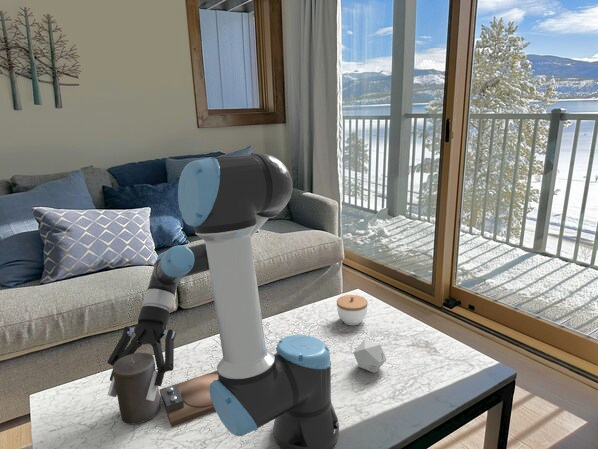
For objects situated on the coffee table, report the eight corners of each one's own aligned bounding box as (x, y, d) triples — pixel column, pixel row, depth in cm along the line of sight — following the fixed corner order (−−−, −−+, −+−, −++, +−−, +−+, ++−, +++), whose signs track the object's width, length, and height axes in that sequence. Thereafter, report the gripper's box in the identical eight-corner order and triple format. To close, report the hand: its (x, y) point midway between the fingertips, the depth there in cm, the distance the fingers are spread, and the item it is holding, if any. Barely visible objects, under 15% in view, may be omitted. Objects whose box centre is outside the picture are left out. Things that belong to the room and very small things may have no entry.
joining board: (256, 395, 109) (255, 389, 108) (171, 427, 99) (170, 420, 98) (237, 368, 121) (236, 363, 120) (160, 394, 110) (159, 388, 110)
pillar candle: (118, 428, 98) (108, 373, 94) (123, 402, 107) (114, 351, 103) (160, 418, 101) (152, 365, 97) (162, 394, 110) (154, 344, 106)
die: (362, 382, 114) (384, 358, 111) (342, 357, 118) (363, 334, 115) (375, 377, 120) (396, 355, 117) (356, 353, 125) (376, 331, 122)
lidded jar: (351, 311, 153) (351, 287, 150) (373, 321, 145) (374, 297, 142) (330, 320, 146) (330, 296, 144) (352, 332, 138) (352, 306, 136)
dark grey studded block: (250, 383, 111) (250, 374, 111) (167, 413, 101) (166, 403, 100) (241, 370, 117) (240, 361, 117) (162, 397, 107) (160, 387, 106)
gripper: (200, 315, 111) (179, 404, 101) (126, 311, 116) (98, 396, 105) (189, 306, 105) (166, 400, 94) (111, 302, 109) (80, 391, 99)
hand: (130, 398), depth 100 cm, fingers closed on pillar candle, 10 cm apart
